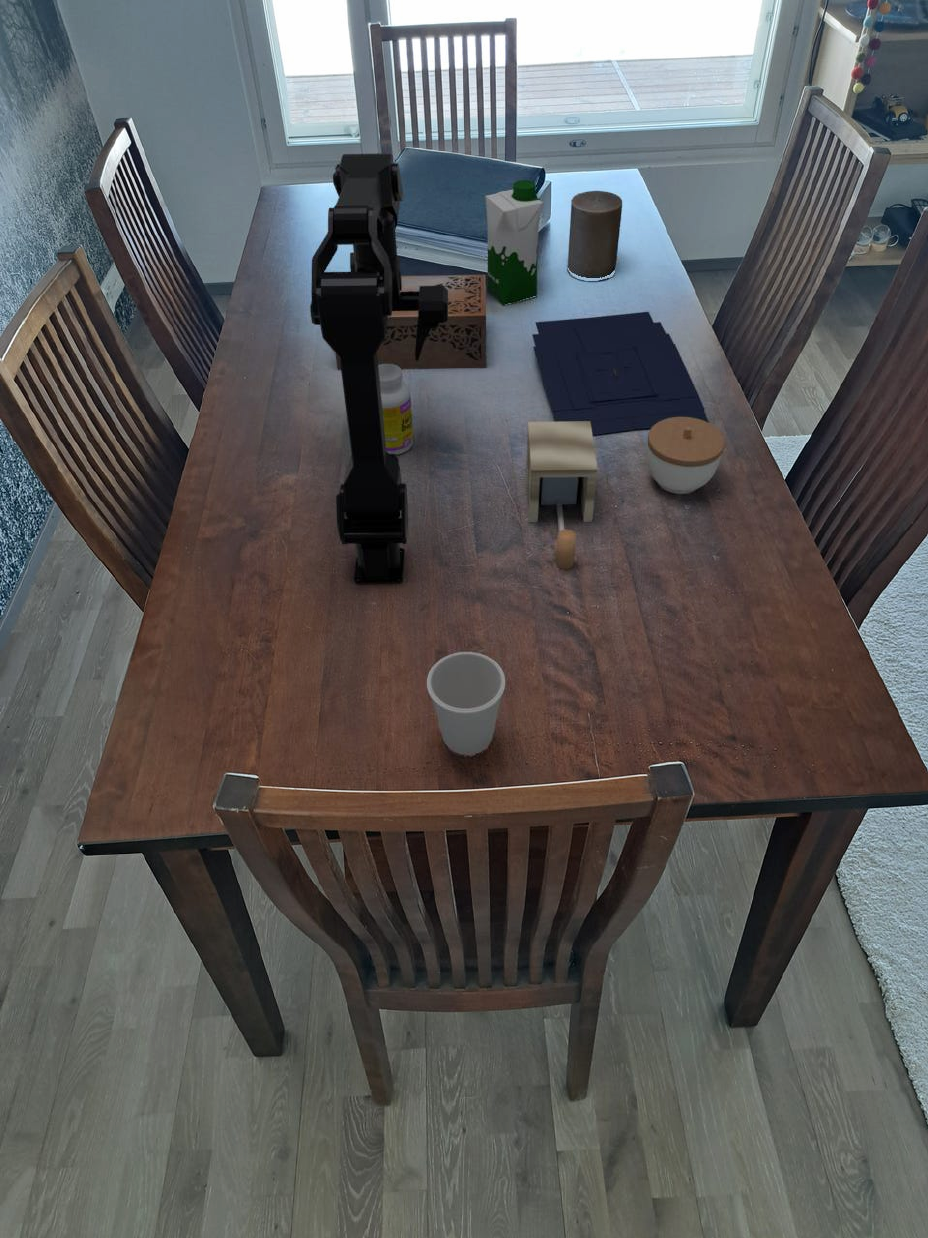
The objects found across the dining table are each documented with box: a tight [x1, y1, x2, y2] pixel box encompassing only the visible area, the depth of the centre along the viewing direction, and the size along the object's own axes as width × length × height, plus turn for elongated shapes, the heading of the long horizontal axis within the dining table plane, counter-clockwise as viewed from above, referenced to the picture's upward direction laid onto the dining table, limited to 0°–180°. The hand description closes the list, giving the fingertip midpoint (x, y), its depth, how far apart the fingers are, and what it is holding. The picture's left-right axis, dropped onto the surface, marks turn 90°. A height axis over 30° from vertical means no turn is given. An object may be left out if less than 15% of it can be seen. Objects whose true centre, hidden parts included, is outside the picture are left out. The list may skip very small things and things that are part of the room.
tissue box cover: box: [334, 274, 487, 371], centre depth 159 cm, size 26×14×10 cm, turn 90°
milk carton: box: [485, 179, 544, 306], centre depth 168 cm, size 9×9×20 cm
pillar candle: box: [567, 190, 623, 278], centre depth 175 cm, size 10×10×15 cm
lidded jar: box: [646, 417, 726, 495], centre depth 131 cm, size 11×11×9 cm
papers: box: [532, 311, 710, 436], centre depth 153 cm, size 24×30×4 cm
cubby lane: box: [525, 421, 598, 523], centre depth 129 cm, size 11×9×9 cm
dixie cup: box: [426, 651, 506, 755], centre depth 100 cm, size 8×8×10 cm
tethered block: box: [539, 477, 579, 570], centre depth 127 cm, size 19×5×5 cm, turn 0°
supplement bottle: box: [378, 364, 414, 456], centre depth 138 cm, size 7×7×13 cm
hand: (385, 359), depth 132 cm, fingers open, 9 cm apart
